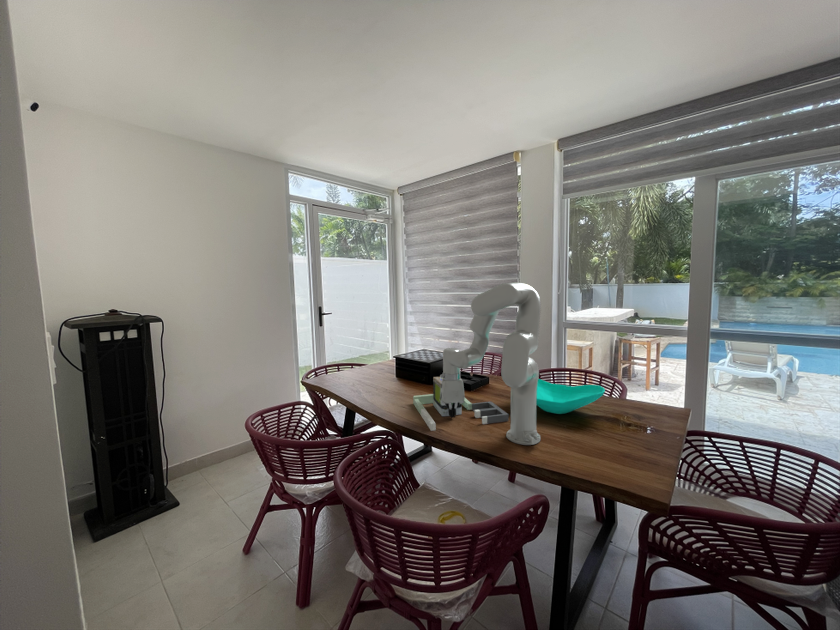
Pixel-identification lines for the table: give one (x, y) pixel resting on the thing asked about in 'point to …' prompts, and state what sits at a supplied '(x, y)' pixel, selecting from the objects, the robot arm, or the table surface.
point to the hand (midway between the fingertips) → (452, 416)
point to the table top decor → (565, 396)
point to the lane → (429, 399)
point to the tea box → (436, 399)
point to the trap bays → (491, 412)
